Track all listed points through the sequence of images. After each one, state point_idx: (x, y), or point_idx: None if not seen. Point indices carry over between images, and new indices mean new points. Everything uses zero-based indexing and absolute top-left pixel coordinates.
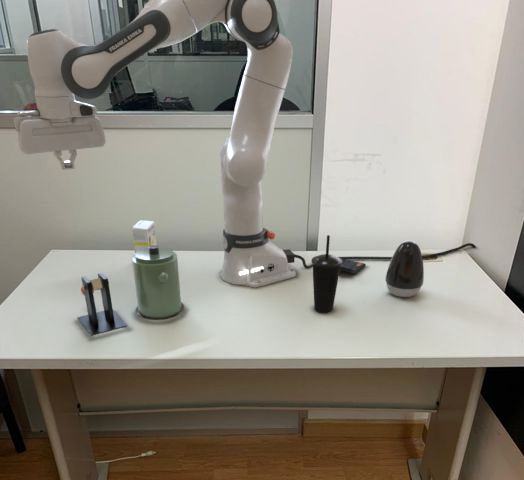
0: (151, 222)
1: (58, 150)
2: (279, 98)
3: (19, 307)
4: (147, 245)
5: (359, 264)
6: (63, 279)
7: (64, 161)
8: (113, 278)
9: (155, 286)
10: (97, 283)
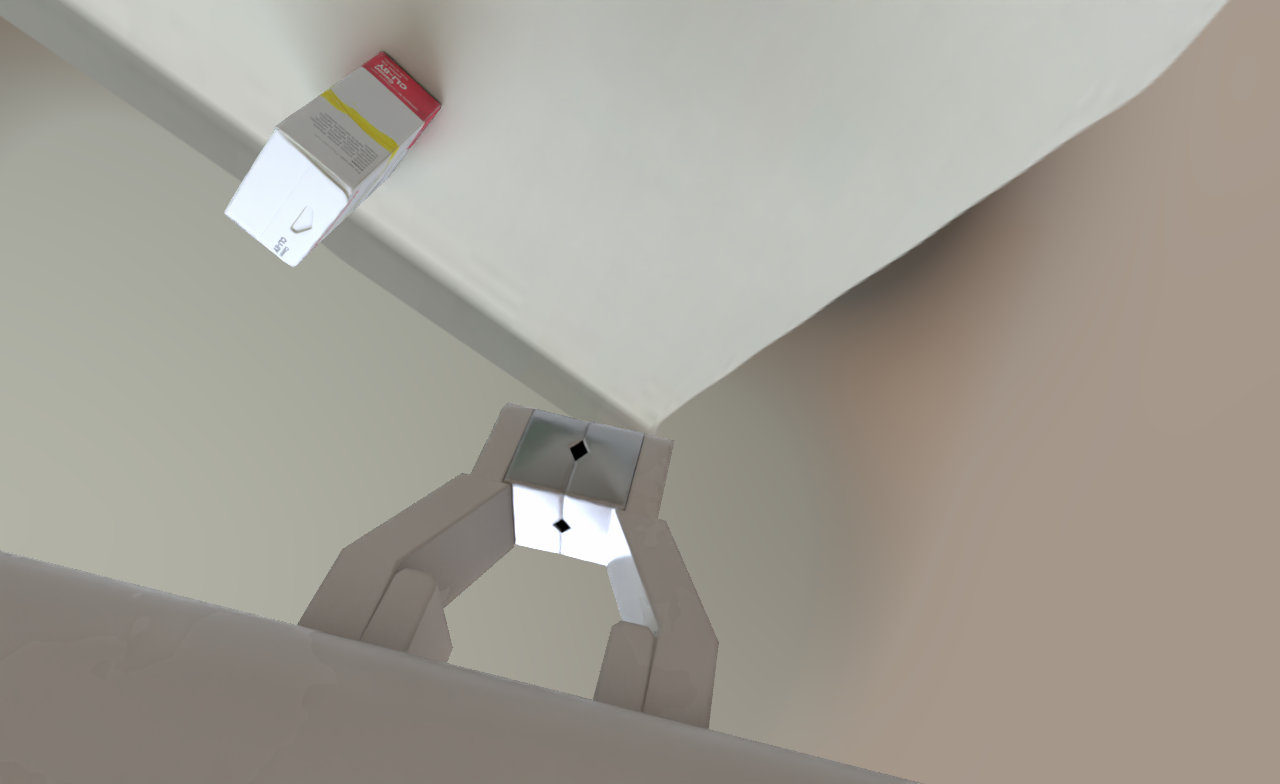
0: (239, 206)
1: (658, 728)
2: None
3: (1132, 15)
4: (333, 91)
5: None
6: (772, 185)
7: (588, 548)
8: (589, 27)
9: None
10: None
